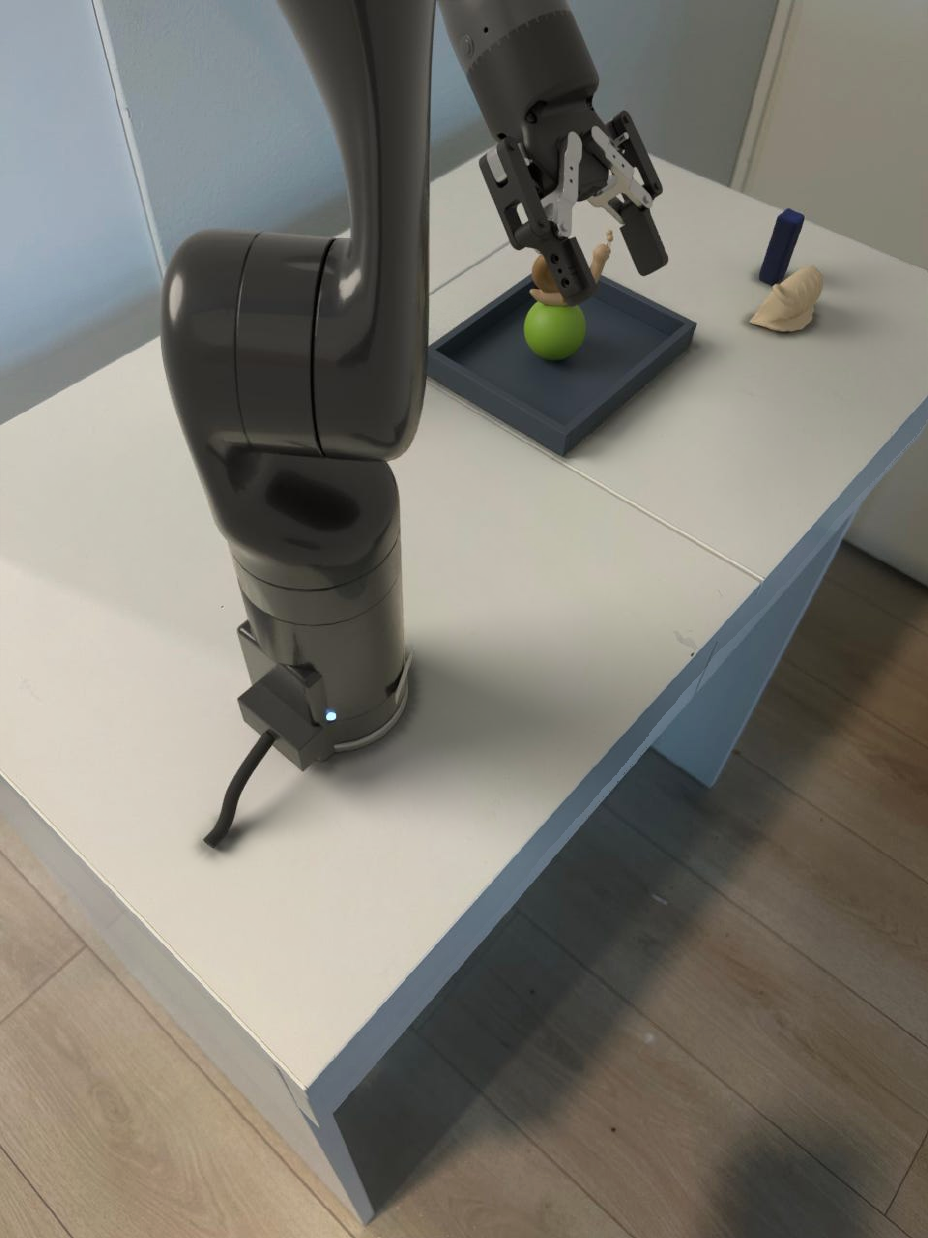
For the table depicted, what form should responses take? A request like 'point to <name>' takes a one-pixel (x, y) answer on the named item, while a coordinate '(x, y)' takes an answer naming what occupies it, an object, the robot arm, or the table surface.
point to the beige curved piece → (791, 301)
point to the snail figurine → (558, 311)
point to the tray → (559, 362)
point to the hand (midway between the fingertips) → (621, 284)
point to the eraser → (781, 246)
